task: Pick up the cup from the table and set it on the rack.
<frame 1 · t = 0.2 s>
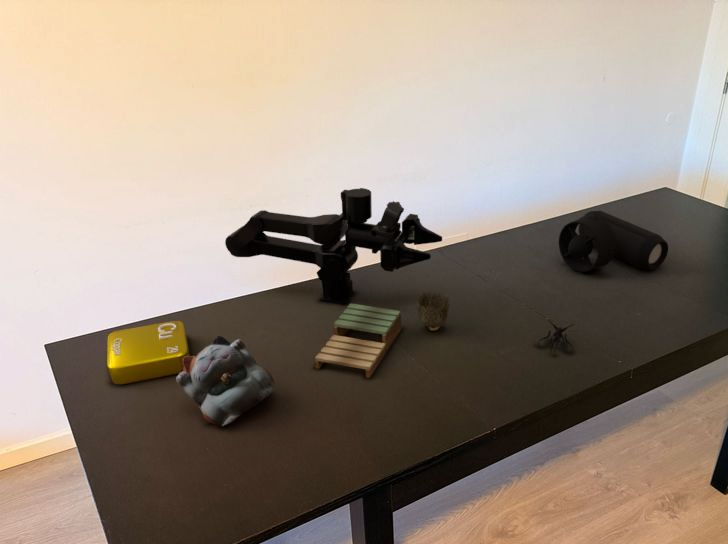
hand: (436, 247, 147), 17 cm above the table, tool horizontal, fingers open, 9 cm apart
lucky cat figurine: (231, 406, 125), on the table
creature: (555, 347, 144), on the table
portable speaker: (618, 256, 185), on the table
cup: (433, 330, 149), on the table
element tile: (151, 360, 137), on the table
black round hollow piece: (578, 271, 177), on the table
rack: (360, 347, 142), on the table
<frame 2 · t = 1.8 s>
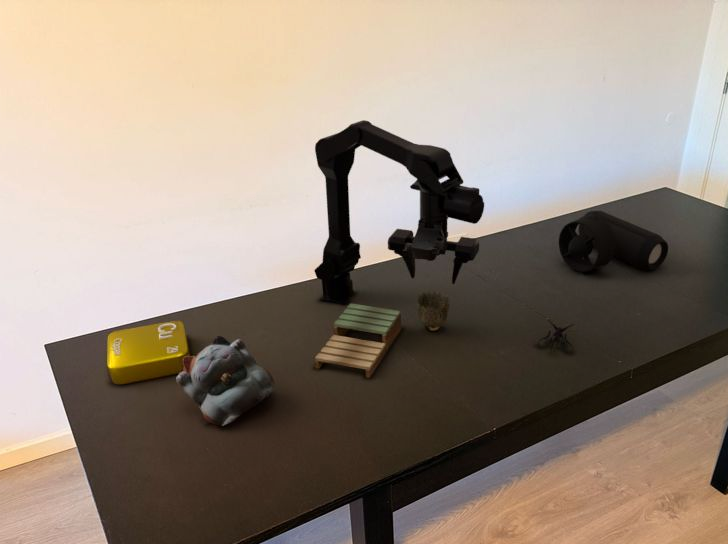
hand: (433, 280, 143), 13 cm above the table, tool pointing down, fingers open, 9 cm apart
nothing on the table moved.
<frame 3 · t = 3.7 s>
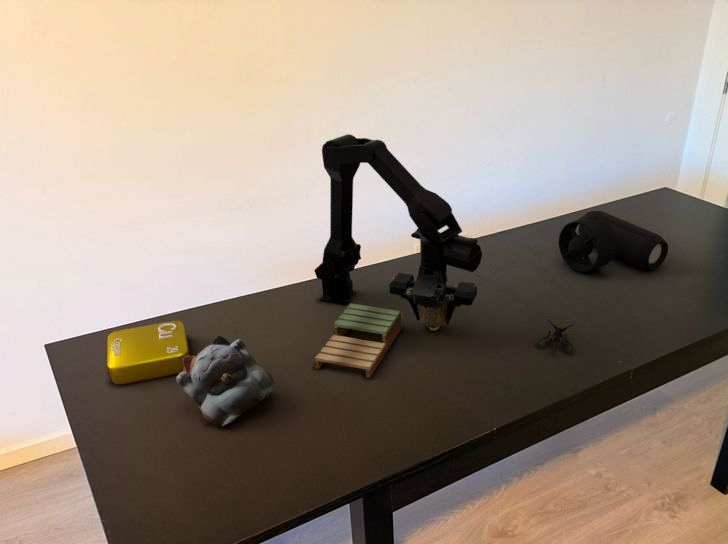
hand: (433, 321, 148), 2 cm above the table, tool pointing down, fingers closed on cup, 6 cm apart
cup: (433, 330, 149), on the table, touching gripper
everything else where it was.
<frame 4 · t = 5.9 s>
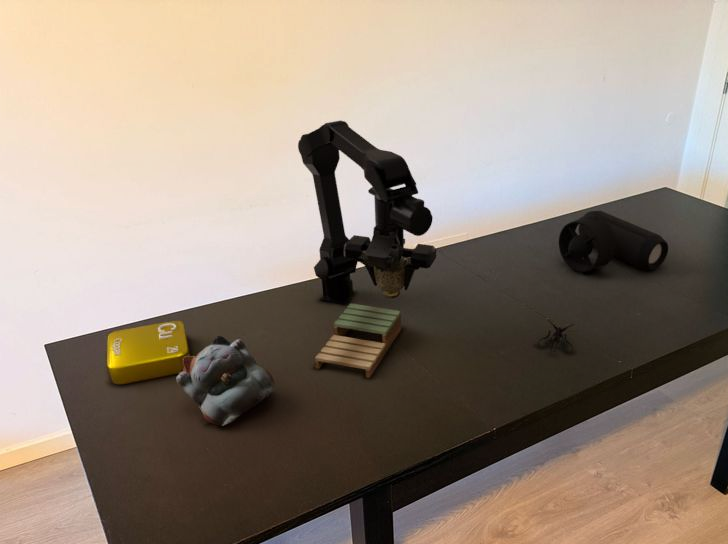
hand: (391, 287, 141), 12 cm above the table, tool pointing down, fingers closed on cup, 6 cm apart
cup: (391, 296, 142), point 9 cm above the table, touching gripper
everything else where it was.
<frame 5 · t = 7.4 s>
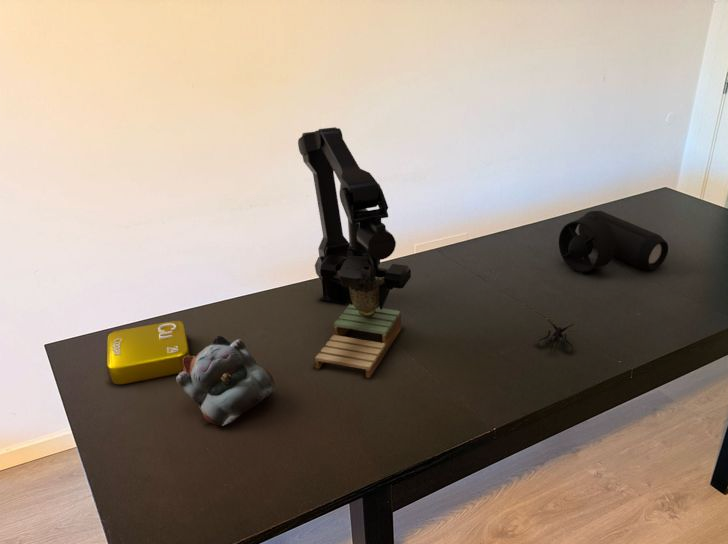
hand: (366, 306, 142), 8 cm above the table, tool pointing down, fingers closed on cup, 6 cm apart
cup: (367, 315, 143), point 5 cm above the table, touching gripper
everything else where it was.
when the fingers open (7 cm above the table, at t = 8.1 s): cup stays where it is, resting on rack.
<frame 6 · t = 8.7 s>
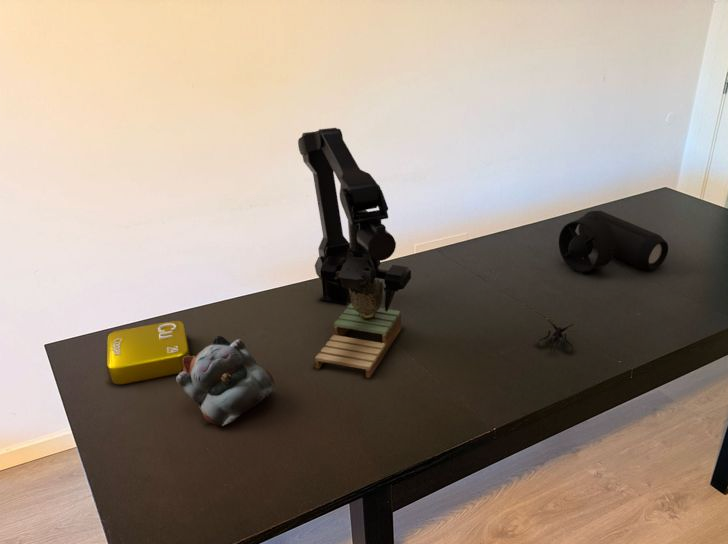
hand: (367, 307, 142), 7 cm above the table, tool pointing down, fingers open, 9 cm apart
cup: (367, 317, 144), point 5 cm above the table, touching rack
everything else where it was.
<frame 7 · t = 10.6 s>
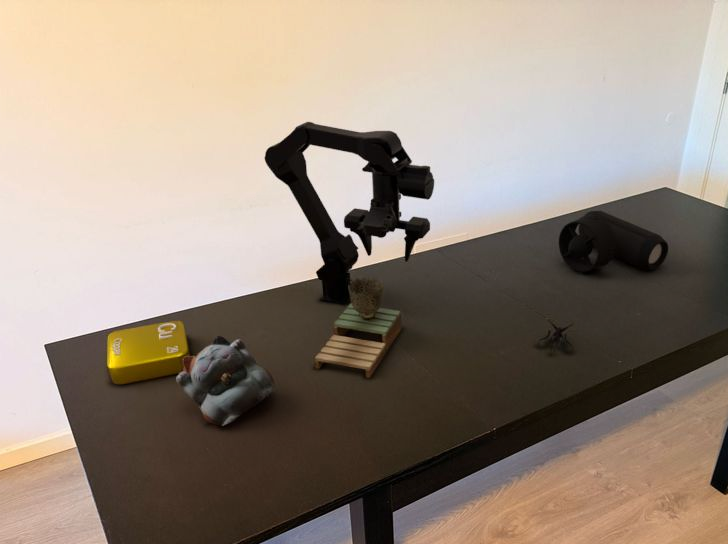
hand: (388, 258, 151), 13 cm above the table, tool pointing down, fingers open, 9 cm apart
nothing on the table moved.
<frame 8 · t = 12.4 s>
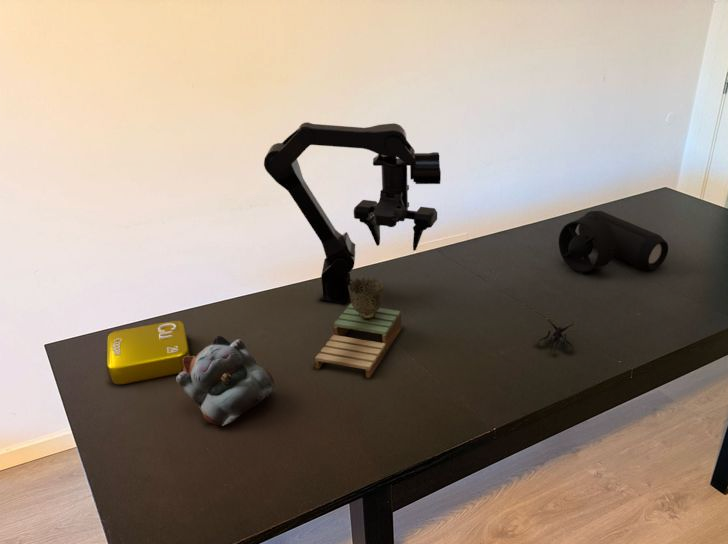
hand: (396, 247, 155), 13 cm above the table, tool pointing down, fingers open, 9 cm apart
nothing on the table moved.
at the end: cup inside the target area on the rack (0.2 cm from its centre), point 4.8 cm above the rack's base; cup tilted 0°; the gripper is holding nothing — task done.
